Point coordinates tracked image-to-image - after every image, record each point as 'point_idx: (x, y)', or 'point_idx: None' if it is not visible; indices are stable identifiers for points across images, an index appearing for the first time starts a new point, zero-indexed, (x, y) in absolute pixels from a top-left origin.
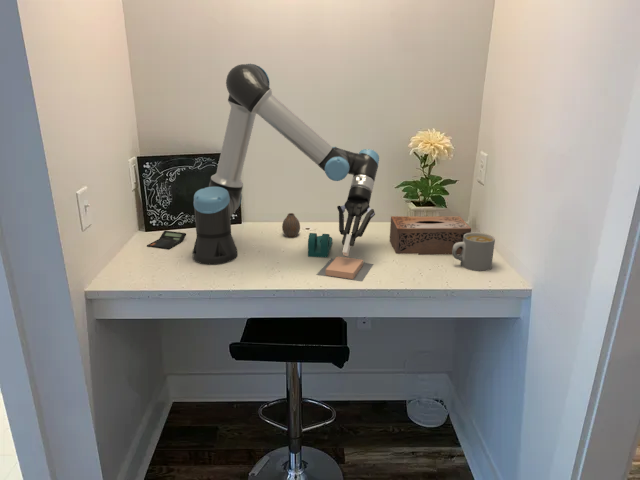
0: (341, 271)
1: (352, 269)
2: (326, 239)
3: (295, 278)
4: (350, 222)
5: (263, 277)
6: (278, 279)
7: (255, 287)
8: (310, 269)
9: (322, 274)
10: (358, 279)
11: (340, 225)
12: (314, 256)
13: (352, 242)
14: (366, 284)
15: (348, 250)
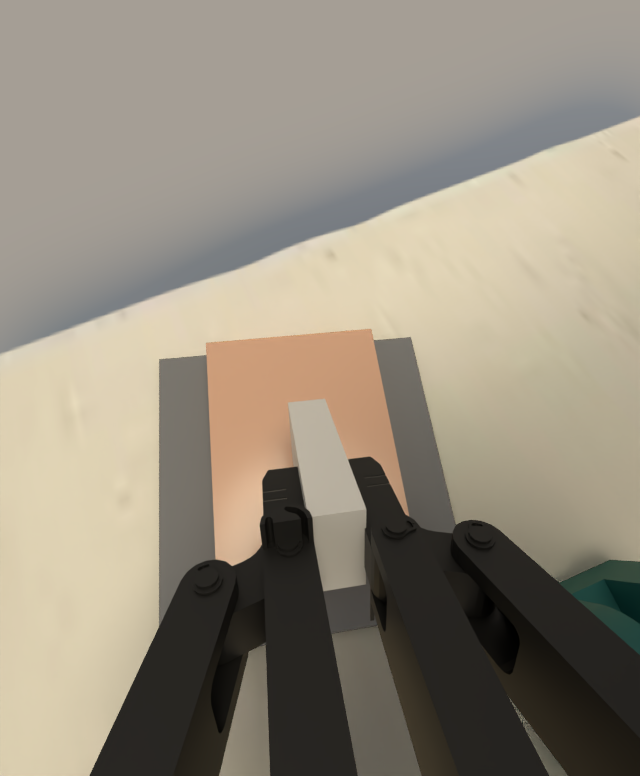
0: (278, 337)
1: (229, 390)
2: None
3: (473, 280)
4: (439, 748)
5: (588, 239)
6: (525, 246)
7: (543, 163)
8: (481, 399)
9: (385, 351)
10: (185, 373)
11: (542, 593)
12: (581, 577)
13: (272, 481)
14: (133, 353)
15: (293, 449)
